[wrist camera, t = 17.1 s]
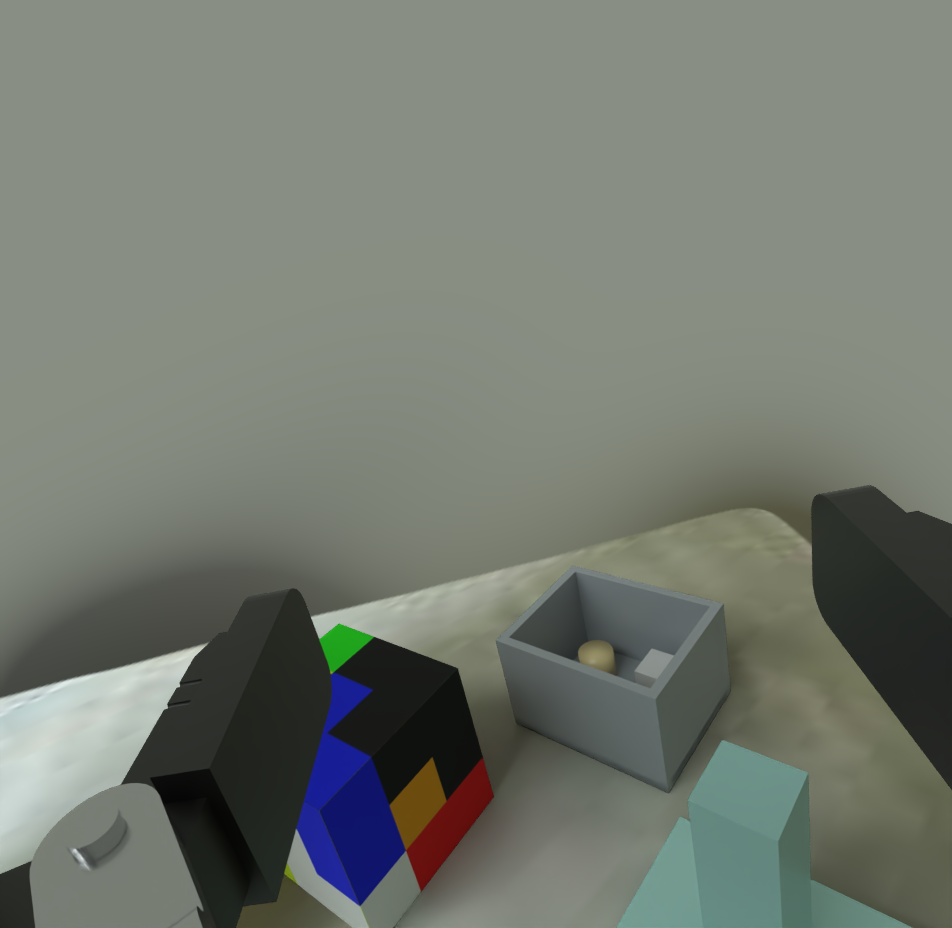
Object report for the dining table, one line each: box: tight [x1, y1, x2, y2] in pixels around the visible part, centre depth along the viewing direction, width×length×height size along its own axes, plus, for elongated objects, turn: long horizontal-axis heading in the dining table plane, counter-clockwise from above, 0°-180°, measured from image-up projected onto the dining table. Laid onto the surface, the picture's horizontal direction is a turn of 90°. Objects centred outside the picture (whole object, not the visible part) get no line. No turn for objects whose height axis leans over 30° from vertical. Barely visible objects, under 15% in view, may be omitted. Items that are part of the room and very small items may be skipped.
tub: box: [496, 566, 731, 793], centre depth 44 cm, size 11×9×7 cm
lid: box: [616, 740, 912, 928], centre depth 27 cm, size 12×10×12 cm
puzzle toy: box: [284, 624, 494, 928], centre depth 39 cm, size 10×10×10 cm
